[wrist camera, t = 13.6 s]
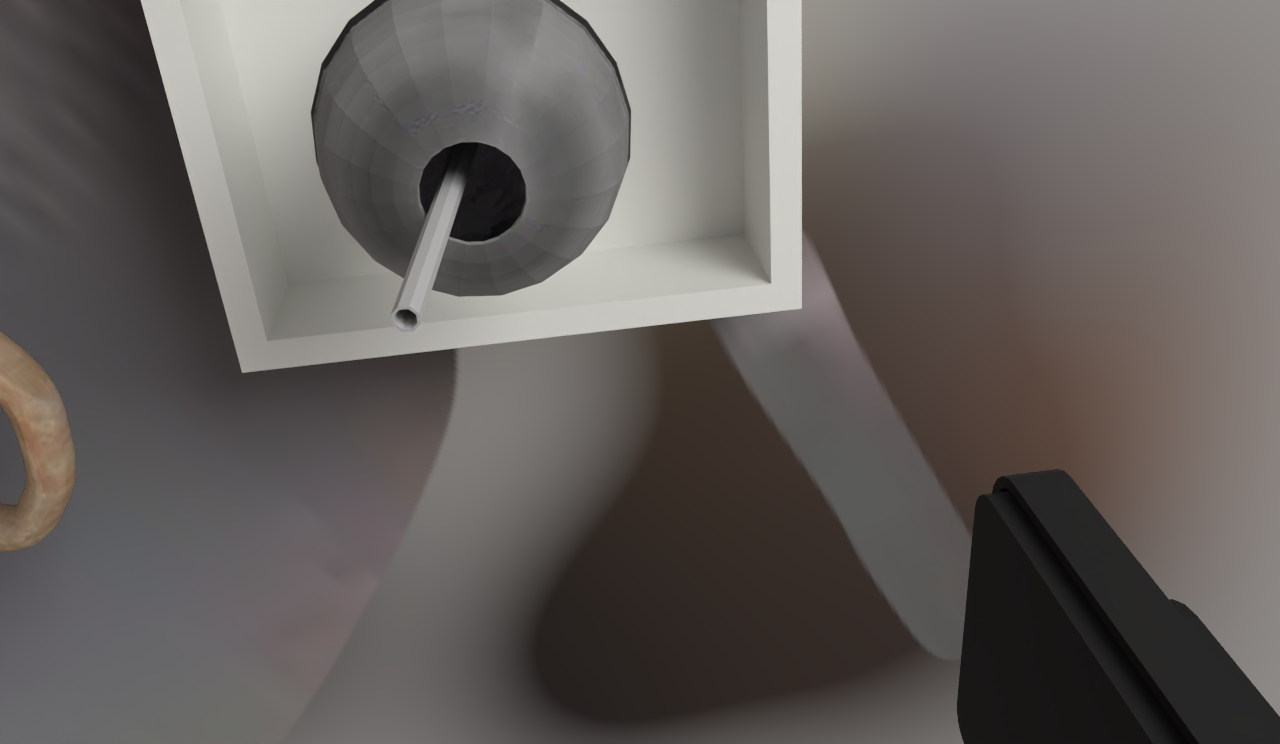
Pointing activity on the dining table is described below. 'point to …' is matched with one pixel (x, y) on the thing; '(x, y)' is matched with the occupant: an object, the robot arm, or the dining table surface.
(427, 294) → the beverage cup
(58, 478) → the ceramic bowl
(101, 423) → the dining table surface
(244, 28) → the white bin
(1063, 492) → the robot arm
